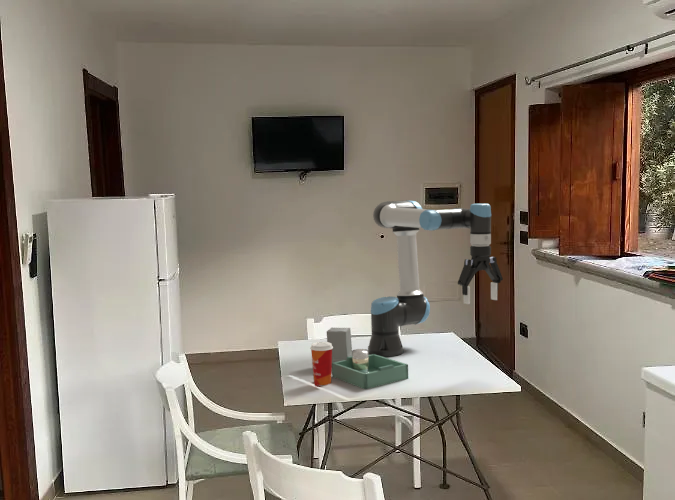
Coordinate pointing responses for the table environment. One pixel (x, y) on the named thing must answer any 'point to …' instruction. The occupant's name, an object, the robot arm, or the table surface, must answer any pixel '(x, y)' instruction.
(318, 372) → the coffee cup
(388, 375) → the tote
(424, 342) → the table surface
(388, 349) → the robot arm
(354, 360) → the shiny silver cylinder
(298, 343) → the table surface
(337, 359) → the skincare box
